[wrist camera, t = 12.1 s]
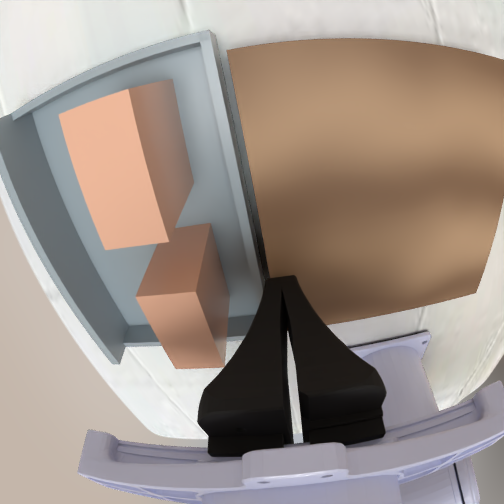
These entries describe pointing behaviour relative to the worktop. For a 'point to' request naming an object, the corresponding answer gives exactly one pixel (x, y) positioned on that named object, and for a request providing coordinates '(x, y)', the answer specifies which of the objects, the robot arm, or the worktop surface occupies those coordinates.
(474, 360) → the worktop surface
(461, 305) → the worktop surface
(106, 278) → the tray
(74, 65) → the worktop surface
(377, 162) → the board
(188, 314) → the tile far
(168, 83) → the tile near
